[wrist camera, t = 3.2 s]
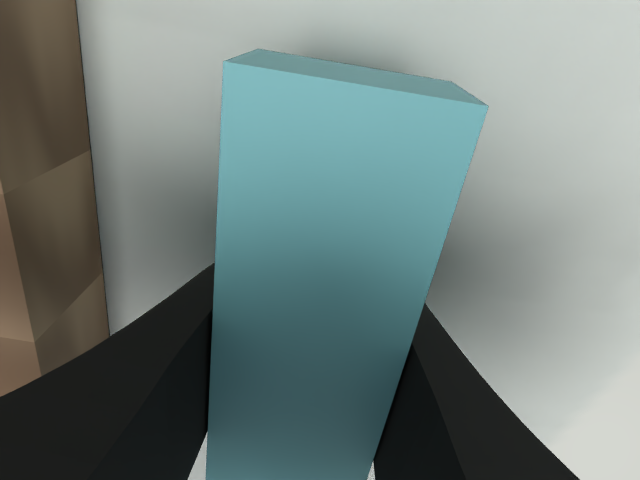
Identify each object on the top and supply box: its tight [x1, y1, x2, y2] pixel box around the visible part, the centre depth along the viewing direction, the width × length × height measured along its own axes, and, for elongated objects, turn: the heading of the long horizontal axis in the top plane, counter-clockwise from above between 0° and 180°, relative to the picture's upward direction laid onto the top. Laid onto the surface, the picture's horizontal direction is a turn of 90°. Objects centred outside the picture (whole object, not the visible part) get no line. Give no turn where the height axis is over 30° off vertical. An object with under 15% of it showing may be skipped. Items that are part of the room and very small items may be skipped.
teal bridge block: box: [206, 49, 489, 480], centre depth 9 cm, size 10×3×5 cm, turn 171°
